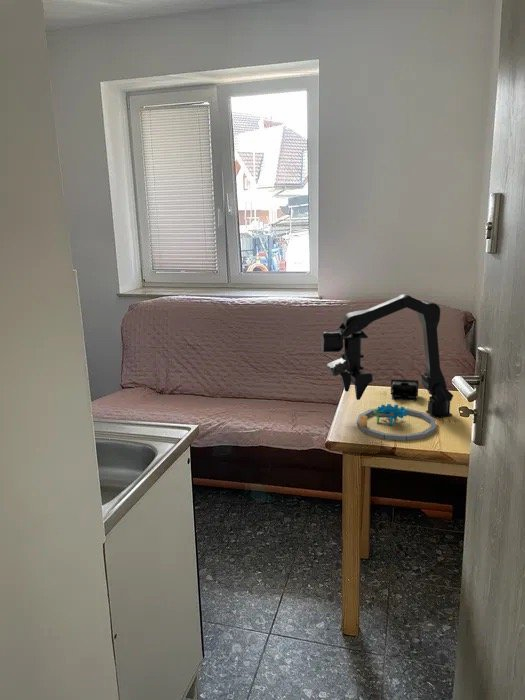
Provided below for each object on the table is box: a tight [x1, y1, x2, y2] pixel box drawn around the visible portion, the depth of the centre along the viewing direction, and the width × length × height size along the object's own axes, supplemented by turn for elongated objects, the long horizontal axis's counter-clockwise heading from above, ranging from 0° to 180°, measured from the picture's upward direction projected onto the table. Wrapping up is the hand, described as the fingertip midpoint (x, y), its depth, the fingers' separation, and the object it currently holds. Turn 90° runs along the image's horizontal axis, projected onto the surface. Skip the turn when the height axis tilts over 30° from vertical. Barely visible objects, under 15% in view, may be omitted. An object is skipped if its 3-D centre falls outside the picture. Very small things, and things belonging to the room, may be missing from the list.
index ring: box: [356, 407, 437, 442], centre depth 178 cm, size 26×25×4 cm
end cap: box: [390, 378, 420, 402], centre depth 204 cm, size 10×7×7 cm
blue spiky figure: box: [373, 403, 408, 426], centre depth 180 cm, size 11×6×10 cm
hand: (352, 395), depth 183 cm, fingers open, 9 cm apart
